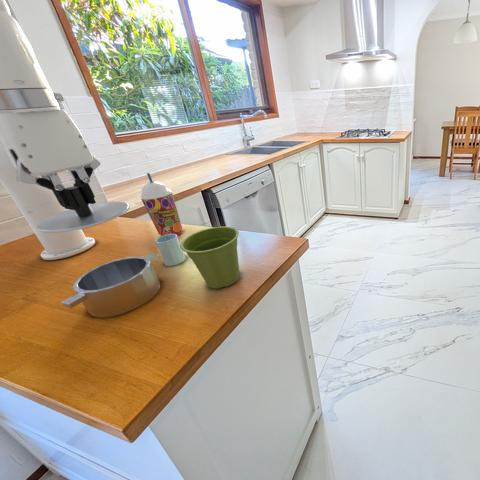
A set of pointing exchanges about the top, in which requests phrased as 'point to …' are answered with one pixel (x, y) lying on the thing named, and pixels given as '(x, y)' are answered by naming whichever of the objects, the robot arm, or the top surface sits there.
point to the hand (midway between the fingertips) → (80, 205)
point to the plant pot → (214, 255)
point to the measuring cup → (170, 249)
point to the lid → (82, 214)
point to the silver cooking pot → (116, 286)
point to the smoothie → (161, 207)
